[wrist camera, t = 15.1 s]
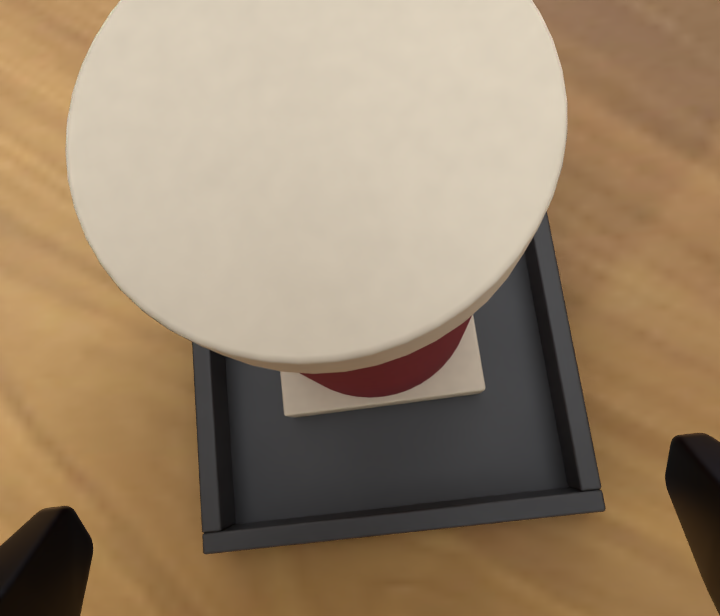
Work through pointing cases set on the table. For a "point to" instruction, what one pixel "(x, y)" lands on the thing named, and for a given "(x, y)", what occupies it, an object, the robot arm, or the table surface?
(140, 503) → the table surface
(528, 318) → the tray
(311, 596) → the table surface
